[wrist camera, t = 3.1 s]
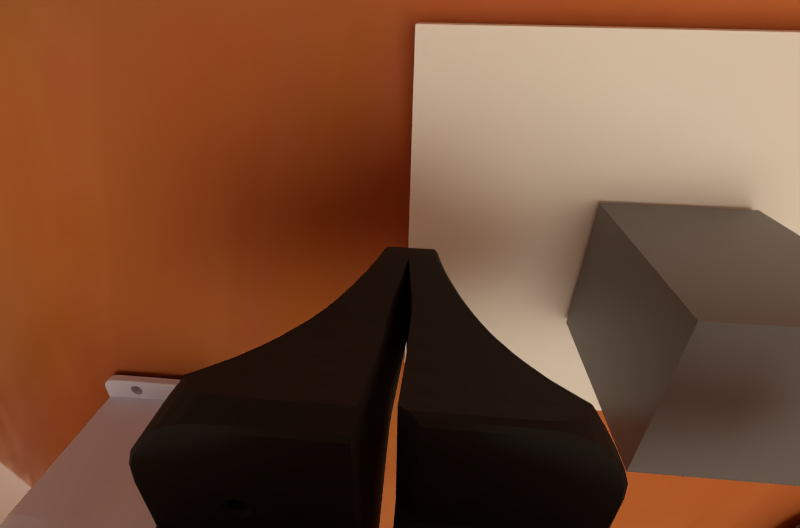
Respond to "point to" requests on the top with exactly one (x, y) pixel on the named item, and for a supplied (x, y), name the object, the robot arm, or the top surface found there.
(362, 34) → the top surface
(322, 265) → the top surface
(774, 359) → the fader knob
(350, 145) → the top surface
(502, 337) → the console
